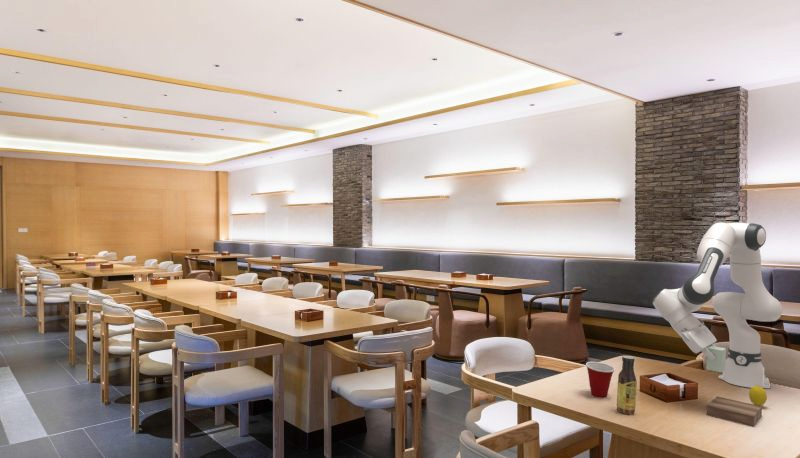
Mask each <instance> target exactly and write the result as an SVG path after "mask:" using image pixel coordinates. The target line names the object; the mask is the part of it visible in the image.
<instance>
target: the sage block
mask: <svg viewBox="0 0 800 458" xmlns="http://www.w3.org/2000/svg"><path fill="white" fill-rule="evenodd" d="M707 348H708V350H709V351H710V352H711V353H712V354H714V355H715V356H716V359H714V360H713V361H712V360H710V359H709V358H708V357H707V356H706V361H705V363H706V365H705V366H706V367H705V368H706V370H707V371H713V372H719V373H723V371H724V370H725V366H726V359H727V348H725V347H721V346H717V345H715V346H709V347H707Z"/></svg>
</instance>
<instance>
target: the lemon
mask: <svg viewBox="0 0 800 458" xmlns="http://www.w3.org/2000/svg"><path fill="white" fill-rule="evenodd" d="M767 395H768V394H767V392H766V389H765V388H762V387H760V386H759V385H757V386H754V387H752V388H750V390H749V393H748V397H749V400H750V402H751V404H753V405H758V406H763V405H764V404H766V402H767V400H768V396H767Z"/></svg>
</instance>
